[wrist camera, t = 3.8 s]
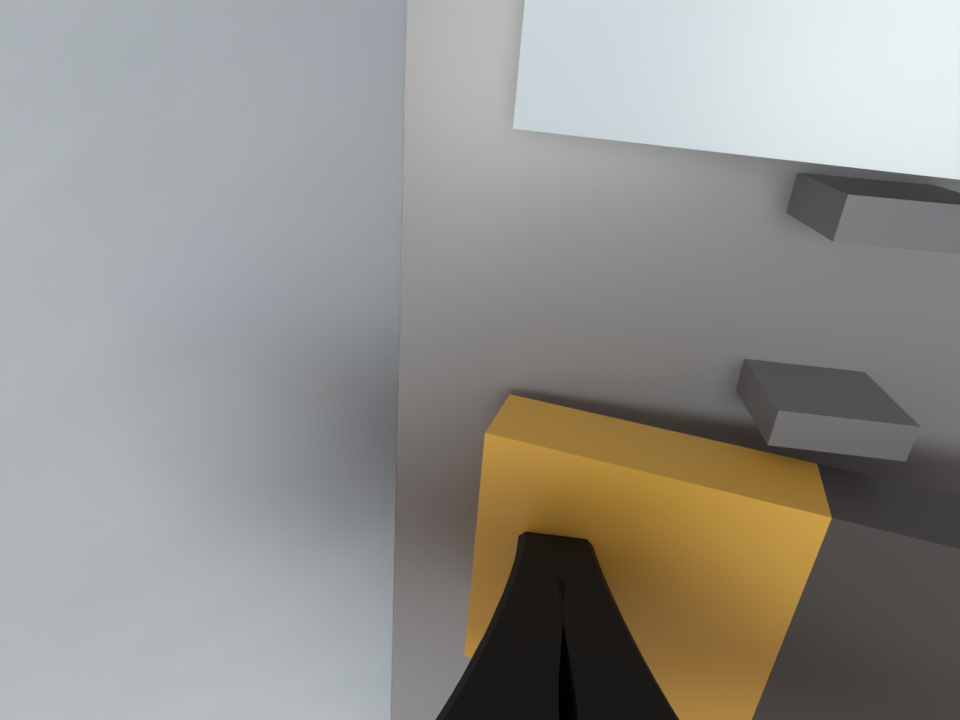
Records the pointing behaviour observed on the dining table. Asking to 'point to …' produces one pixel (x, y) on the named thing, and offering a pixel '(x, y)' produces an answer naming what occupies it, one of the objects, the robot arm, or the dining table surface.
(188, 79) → the dining table surface
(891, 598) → the block
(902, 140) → the rocker
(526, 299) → the rocker switch panel
